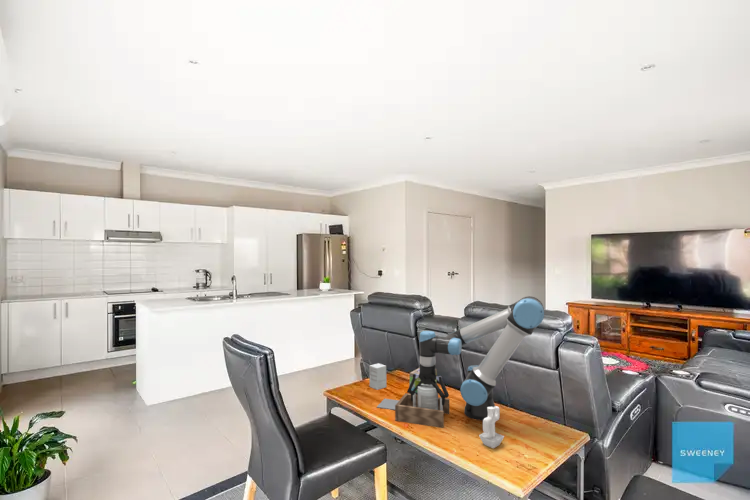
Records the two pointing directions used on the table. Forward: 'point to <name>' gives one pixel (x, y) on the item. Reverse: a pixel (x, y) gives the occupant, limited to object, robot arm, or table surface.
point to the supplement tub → (427, 397)
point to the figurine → (491, 428)
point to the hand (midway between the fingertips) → (427, 410)
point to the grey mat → (388, 404)
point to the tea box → (416, 379)
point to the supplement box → (377, 376)
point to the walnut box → (420, 412)
